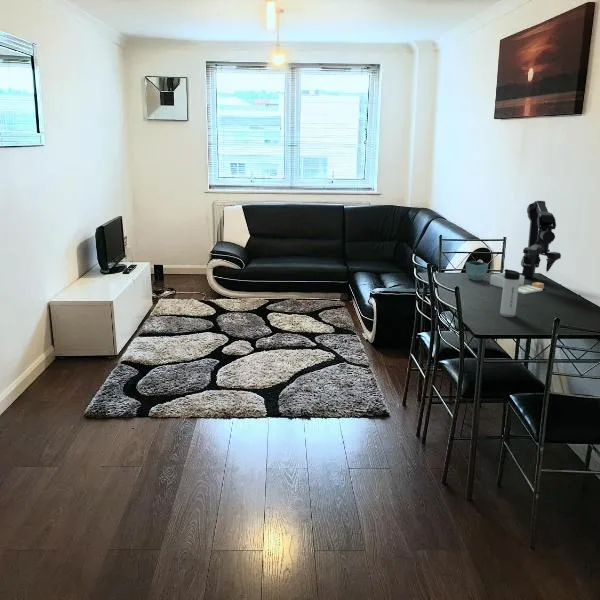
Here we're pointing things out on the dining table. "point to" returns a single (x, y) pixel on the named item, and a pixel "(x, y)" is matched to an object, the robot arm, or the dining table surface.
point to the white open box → (502, 280)
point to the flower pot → (476, 270)
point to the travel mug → (510, 293)
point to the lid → (531, 288)
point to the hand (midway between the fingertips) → (539, 269)
